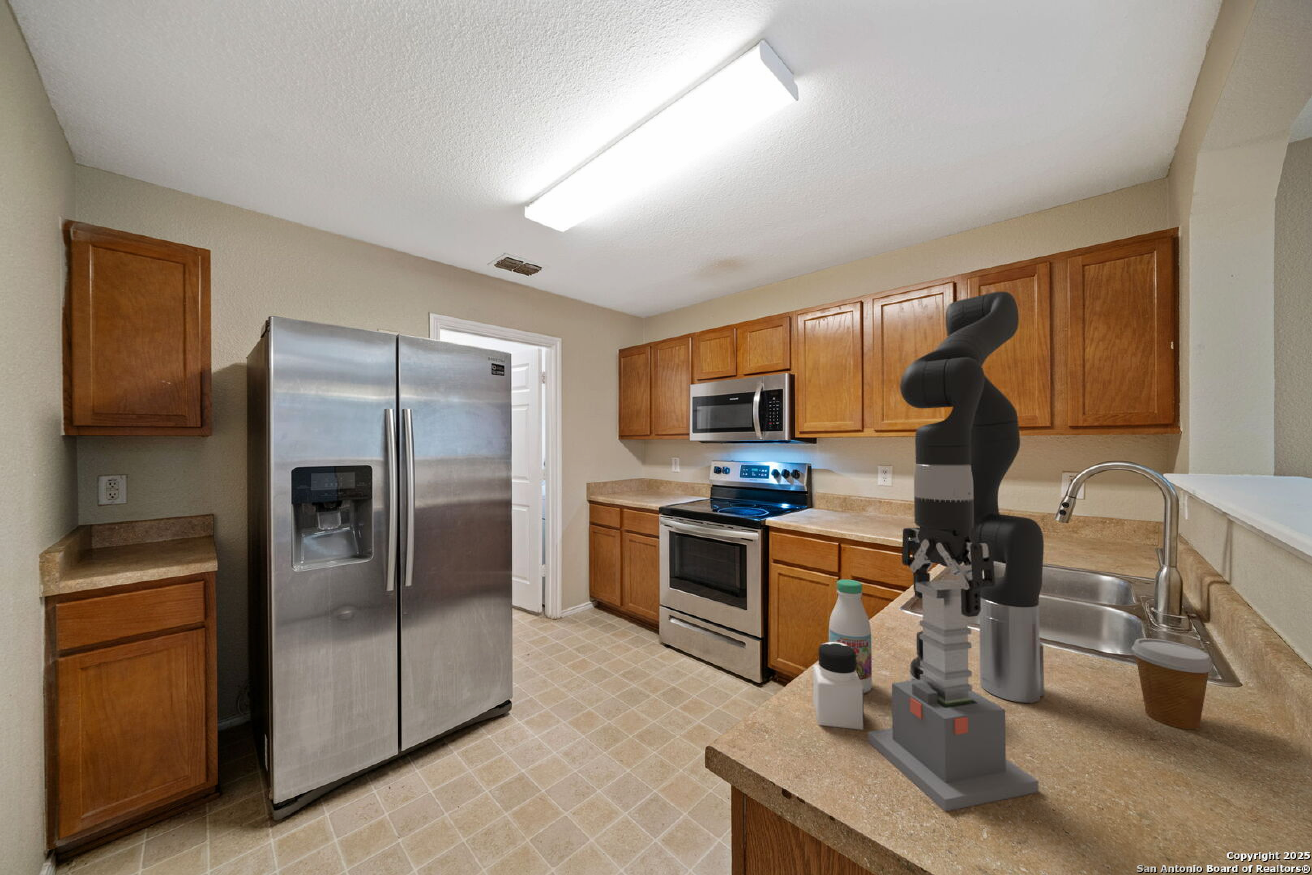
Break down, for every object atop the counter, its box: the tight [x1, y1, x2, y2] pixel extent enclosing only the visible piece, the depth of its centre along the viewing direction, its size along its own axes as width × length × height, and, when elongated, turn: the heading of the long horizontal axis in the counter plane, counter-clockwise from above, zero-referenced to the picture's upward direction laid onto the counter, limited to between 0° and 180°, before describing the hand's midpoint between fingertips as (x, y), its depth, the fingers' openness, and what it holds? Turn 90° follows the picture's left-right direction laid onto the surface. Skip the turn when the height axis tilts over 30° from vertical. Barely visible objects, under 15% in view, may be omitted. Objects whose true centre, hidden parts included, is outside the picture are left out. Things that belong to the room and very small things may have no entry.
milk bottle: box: [828, 578, 873, 694], centre depth 94 cm, size 8×8×20 cm
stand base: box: [867, 679, 1039, 812], centre depth 71 cm, size 15×15×12 cm
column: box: [916, 579, 973, 708], centre depth 71 cm, size 6×5×18 cm
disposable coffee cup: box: [1131, 637, 1214, 730], centre depth 82 cm, size 10×10×12 cm
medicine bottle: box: [812, 641, 865, 731], centre depth 83 cm, size 7×7×12 cm
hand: (944, 605), depth 71 cm, fingers open, 8 cm apart
